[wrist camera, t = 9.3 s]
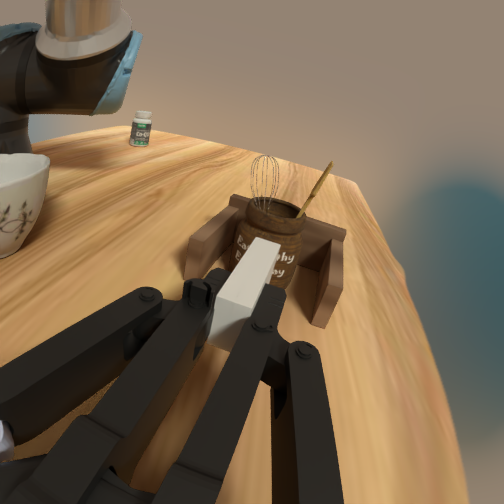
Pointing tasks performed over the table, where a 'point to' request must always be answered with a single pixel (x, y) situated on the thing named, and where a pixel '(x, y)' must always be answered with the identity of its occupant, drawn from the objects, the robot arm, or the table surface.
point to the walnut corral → (312, 256)
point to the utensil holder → (274, 229)
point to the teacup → (20, 197)
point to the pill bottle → (141, 129)
